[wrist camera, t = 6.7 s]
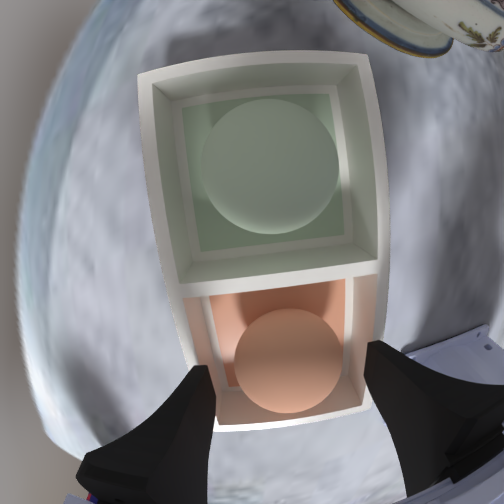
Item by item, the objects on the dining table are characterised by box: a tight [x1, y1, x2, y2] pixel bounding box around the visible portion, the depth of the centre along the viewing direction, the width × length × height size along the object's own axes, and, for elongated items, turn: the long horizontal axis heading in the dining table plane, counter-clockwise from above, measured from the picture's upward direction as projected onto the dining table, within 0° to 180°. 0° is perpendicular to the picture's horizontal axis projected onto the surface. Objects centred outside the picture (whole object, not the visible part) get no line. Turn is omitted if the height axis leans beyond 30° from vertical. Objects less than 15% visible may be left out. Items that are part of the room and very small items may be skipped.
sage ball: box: [201, 99, 339, 234], centre depth 10 cm, size 5×5×5 cm
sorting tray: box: [137, 50, 390, 432], centre depth 12 cm, size 9×18×3 cm, turn 7°
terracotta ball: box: [234, 308, 343, 413], centre depth 12 cm, size 5×5×5 cm
